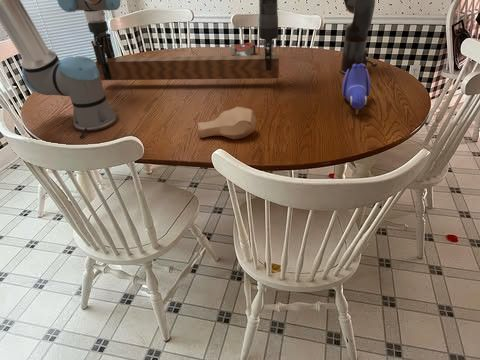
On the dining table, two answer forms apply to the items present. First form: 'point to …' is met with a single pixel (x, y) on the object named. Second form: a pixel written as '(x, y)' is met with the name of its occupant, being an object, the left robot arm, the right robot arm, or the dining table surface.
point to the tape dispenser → (243, 49)
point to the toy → (356, 86)
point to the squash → (230, 124)
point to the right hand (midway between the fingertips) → (268, 67)
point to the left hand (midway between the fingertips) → (111, 76)
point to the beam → (191, 68)
